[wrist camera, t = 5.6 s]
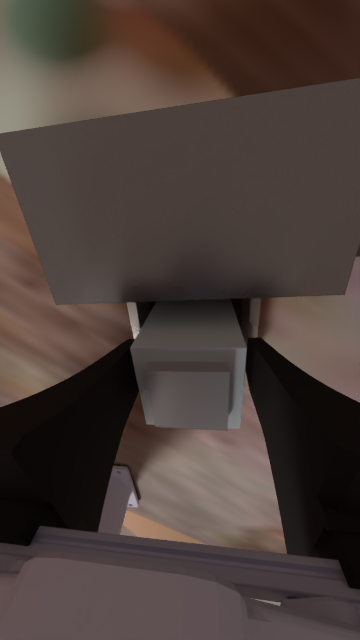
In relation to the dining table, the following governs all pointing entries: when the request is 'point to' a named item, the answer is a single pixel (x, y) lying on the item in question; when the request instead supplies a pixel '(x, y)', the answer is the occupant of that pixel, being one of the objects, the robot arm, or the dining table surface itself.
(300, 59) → the dining table surface
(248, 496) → the dining table surface
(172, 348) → the block
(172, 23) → the dining table surface
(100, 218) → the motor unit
